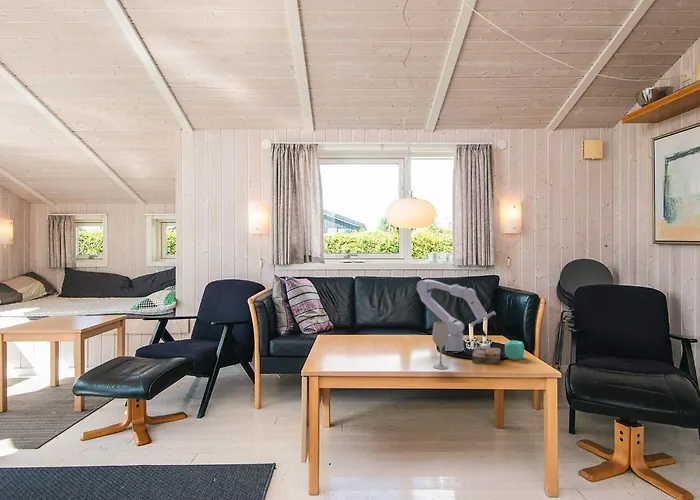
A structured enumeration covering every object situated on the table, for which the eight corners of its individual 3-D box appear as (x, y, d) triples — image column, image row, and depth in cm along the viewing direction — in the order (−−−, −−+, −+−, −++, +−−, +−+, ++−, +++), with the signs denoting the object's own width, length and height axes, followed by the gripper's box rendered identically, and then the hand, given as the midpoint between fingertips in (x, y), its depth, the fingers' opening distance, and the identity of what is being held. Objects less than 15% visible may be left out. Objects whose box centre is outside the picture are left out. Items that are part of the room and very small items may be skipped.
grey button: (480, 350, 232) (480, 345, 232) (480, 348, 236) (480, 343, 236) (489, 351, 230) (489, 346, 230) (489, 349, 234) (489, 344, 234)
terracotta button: (485, 356, 220) (485, 350, 220) (486, 354, 224) (486, 348, 224) (495, 357, 219) (495, 351, 219) (495, 354, 223) (495, 349, 223)
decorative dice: (524, 357, 229) (524, 341, 228) (521, 360, 222) (521, 344, 221) (507, 355, 233) (507, 339, 232) (504, 358, 226) (504, 342, 226)
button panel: (472, 362, 219) (472, 356, 219) (474, 352, 239) (474, 346, 239) (500, 364, 215) (500, 358, 215) (500, 354, 235) (500, 348, 235)
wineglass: (443, 364, 217) (442, 320, 216) (452, 368, 210) (451, 323, 209) (429, 366, 214) (429, 322, 214) (438, 370, 207) (437, 324, 206)
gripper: (468, 314, 231) (482, 338, 227) (492, 302, 234) (505, 325, 231) (464, 316, 238) (477, 339, 234) (487, 304, 241) (500, 327, 237)
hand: (491, 333), depth 233 cm, fingers open, 7 cm apart
